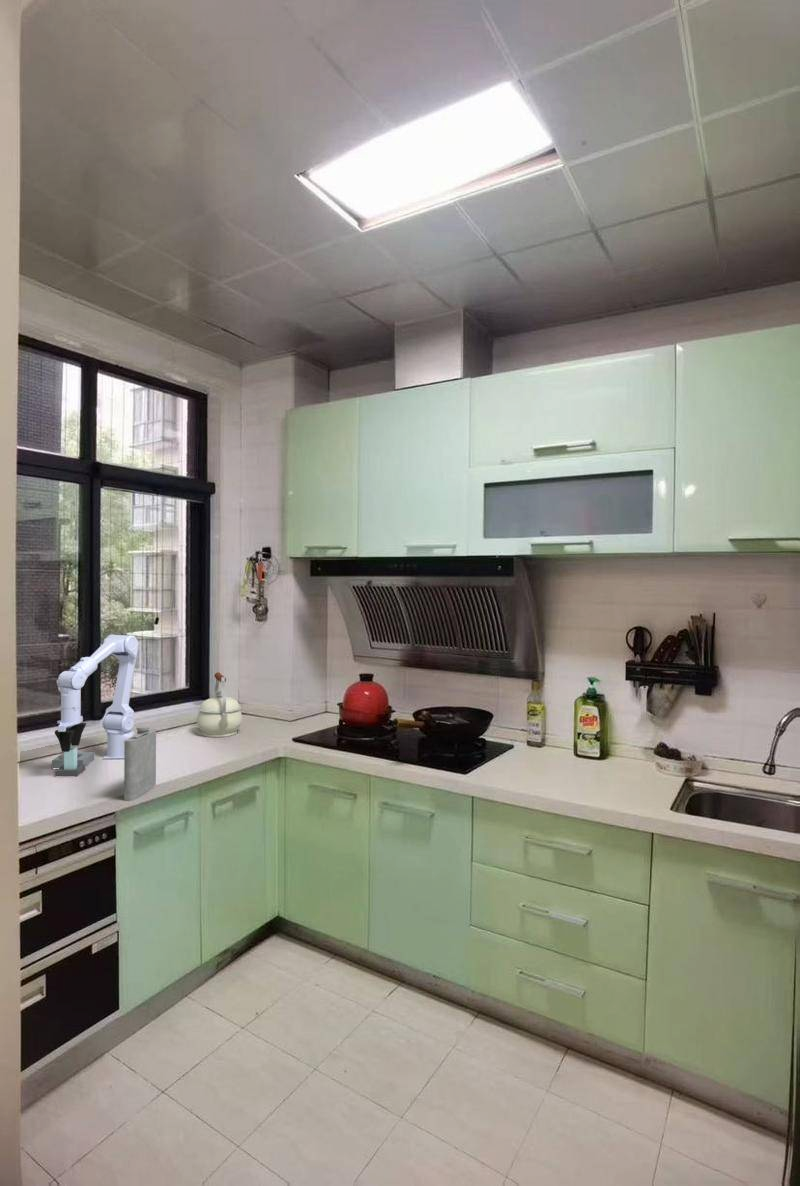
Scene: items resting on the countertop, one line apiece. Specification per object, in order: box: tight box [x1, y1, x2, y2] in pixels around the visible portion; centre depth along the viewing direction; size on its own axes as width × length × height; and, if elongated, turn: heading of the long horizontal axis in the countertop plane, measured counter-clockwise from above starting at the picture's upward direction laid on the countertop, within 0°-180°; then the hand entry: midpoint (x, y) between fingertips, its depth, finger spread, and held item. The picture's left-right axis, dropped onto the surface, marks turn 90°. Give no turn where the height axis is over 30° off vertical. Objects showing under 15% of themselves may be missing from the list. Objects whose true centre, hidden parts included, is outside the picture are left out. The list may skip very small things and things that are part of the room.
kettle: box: [196, 672, 243, 738], centre depth 261 cm, size 25×18×25 cm
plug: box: [63, 745, 78, 770], centre depth 206 cm, size 3×3×9 cm
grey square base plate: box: [54, 764, 87, 777], centre depth 206 cm, size 7×7×2 cm
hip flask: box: [123, 725, 157, 802], centre depth 189 cm, size 16×4×20 cm, turn 176°
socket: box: [51, 751, 95, 769], centre depth 216 cm, size 10×10×3 cm
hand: (70, 748), depth 206 cm, fingers open, 7 cm apart
